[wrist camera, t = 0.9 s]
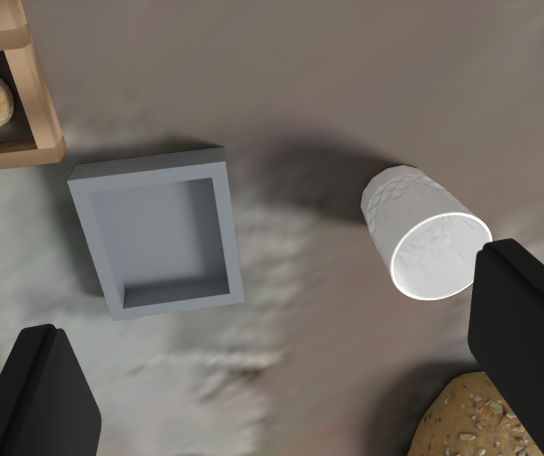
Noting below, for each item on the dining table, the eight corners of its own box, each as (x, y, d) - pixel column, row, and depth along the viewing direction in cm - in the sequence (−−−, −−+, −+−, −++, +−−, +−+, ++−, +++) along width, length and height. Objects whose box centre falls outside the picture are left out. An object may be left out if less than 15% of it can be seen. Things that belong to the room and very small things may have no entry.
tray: (75, 164, 39) (66, 180, 37) (223, 146, 40) (225, 161, 38) (117, 299, 47) (112, 320, 44) (242, 281, 48) (244, 301, 45)
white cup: (356, 242, 47) (391, 309, 38) (351, 167, 43) (388, 224, 34) (436, 225, 47) (488, 289, 39) (438, 150, 43) (497, 202, 34)
